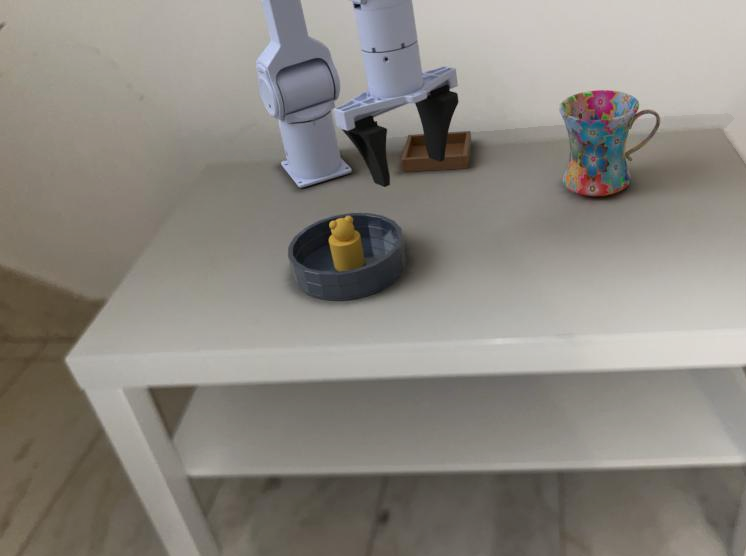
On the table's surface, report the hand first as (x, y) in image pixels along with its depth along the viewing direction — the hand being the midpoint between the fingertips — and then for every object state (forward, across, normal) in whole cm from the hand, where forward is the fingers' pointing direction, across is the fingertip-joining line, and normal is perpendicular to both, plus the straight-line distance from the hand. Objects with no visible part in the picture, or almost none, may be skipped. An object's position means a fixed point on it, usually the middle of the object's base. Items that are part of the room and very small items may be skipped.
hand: (409, 171), depth 84 cm
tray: (+9, +18, +18) cm, 27 cm away
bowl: (+10, -8, +4) cm, 13 cm away
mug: (+11, +26, -5) cm, 29 cm away
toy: (+10, -8, +4) cm, 13 cm away
